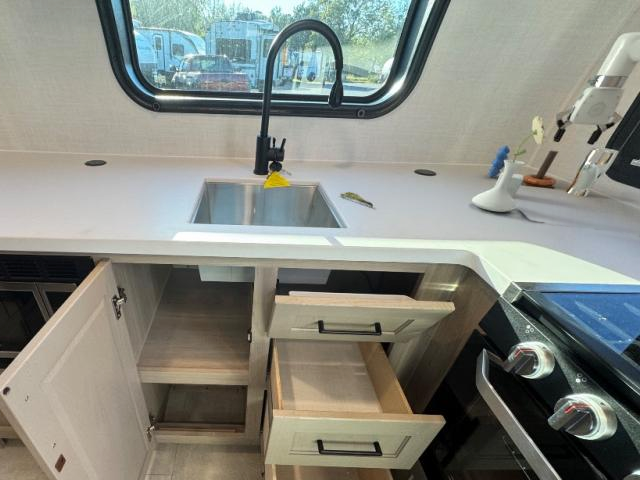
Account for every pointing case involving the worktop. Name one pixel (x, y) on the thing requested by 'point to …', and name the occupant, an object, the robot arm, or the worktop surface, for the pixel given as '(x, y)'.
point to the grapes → (499, 161)
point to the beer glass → (591, 170)
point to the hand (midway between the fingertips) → (572, 142)
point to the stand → (543, 170)
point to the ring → (539, 180)
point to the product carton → (512, 183)
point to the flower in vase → (508, 177)
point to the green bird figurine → (356, 198)
